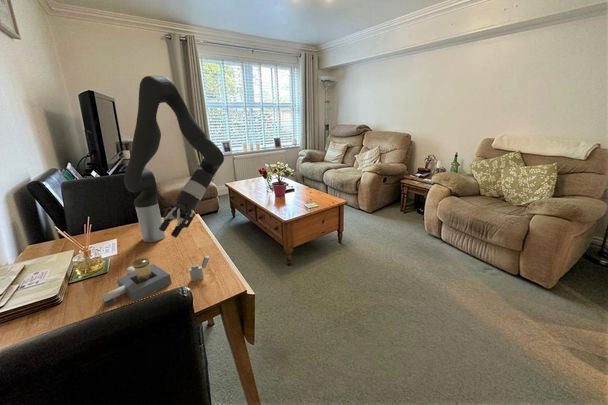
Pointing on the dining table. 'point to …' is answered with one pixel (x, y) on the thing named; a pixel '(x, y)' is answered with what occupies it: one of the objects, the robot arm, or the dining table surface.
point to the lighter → (198, 270)
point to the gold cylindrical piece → (142, 270)
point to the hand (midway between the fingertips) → (167, 233)
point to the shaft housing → (138, 291)
